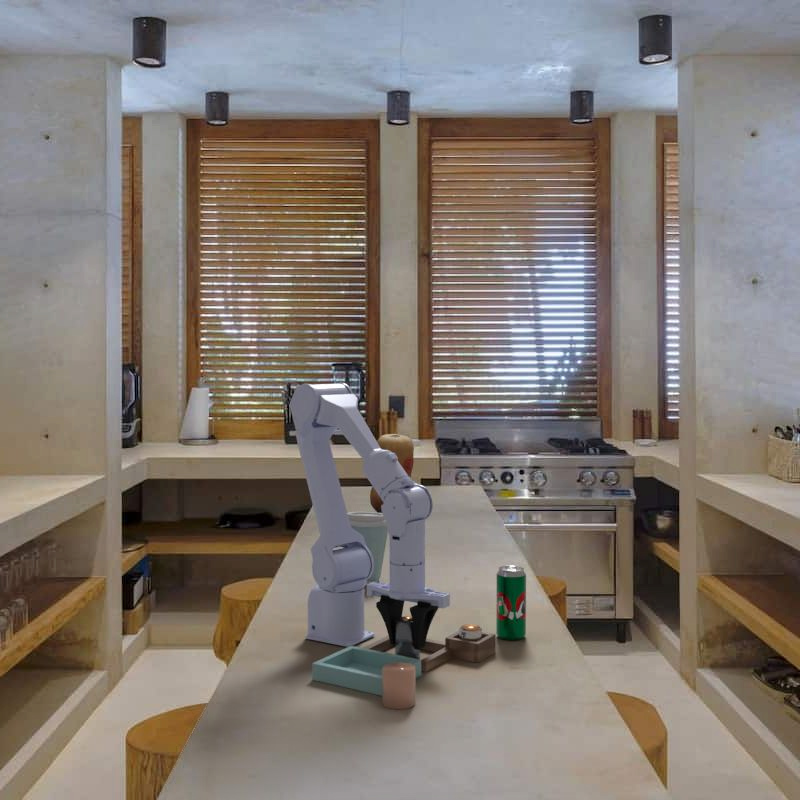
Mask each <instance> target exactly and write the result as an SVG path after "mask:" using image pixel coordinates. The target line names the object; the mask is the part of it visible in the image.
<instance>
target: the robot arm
mask: <svg viewBox="0 0 800 800" xmlns="http://www.w3.org/2000/svg"><path fill="white" fill-rule="evenodd" d="M358 403H359V398H358V397H357V396H356V395H355V394H354V391H353V390H352V388H351V387H350V386H349V385H348V384H347V383H344V382H337V383H314V384H313V383H312V384H311V383H302V384H300V385H298V386H297V387H296V389H294V392H293V394H292V397H291V399H290V402H289V408H290V412H291V415H292V419H293V425H294V428H295V437H296V441H297V442H296V443H297V446H298V450H299V455H300V459H301V463H302V466H303V471H304V476H305V479H306V483H307V487H308V490H309V496H310V499H311V502H312V508H313V512H314V515H315V519H316V523H317V527H318V530H319V531H318V532H319V536H318V538H317V539H316V541H315V542H314V543H313V545H312V546H311V548H310V553H311V559H312V563H311V571H312V576H313V579H314V581H315V583H316V585H314V586H313V587H312V588H311V590H310V592H309V595H308V599H307V634H305V635H304V639H307V640H311V641H317V642H322V643H326V644H332V645H336V646H340V647H345V648H347V647H349V646H355V645H356V644H359V643H361V642H364V641H366V640H368V639H370V638H372V637H374V636H375V632H373V631H367V630H365V626H366V625H365V624H366V623H365V619H366V618H365V586H366V596H367V597H372V598H373V597H377V598H378V597H380V599H379V601H377V602H376V603H375V605H376V608H377V610H378V612H379V614H380V616H381V617H382V620H383V622H384V625H385V627H386V632H387V636H388V635H389V640H390V644H391V645H394V646H395V619H396V618H399V617H403V612H404V611H403V610H404V606H405V602H411V603H415V605H413V606H411V607H409V612H410V616H412V621H413V628H414V648H415V649H416V650H419V649H420V650H422V649H421V648H423V647H425V642H426V639H428V638H427V636H428V634H429V630H430V627H431V624H432V621H433V620H434V618H435V616H436V613H437V612H438V611H439V610H438V609H443V610H444V609H445V608H447V607H450V605H451V603H450V600H451V599H450V598H451V596H450V595H451V594H450V593H447V592H441V591H438V590H437V589H432V588H429V587H426V520H427V519H428V518H429V517H430V516H431V514H432V512H433V506H434V505H433V503H434V501H433V498H432V496H431V494H430V491H429V490H428V488H427V487H426V486H424V485H422V484H418V483H417V482H416V481H415V480H412V477H411V478H410V477H409V476H408V475H407V473H406V472H405V470H404V469H403V468H402V466H401V465H400V463H399V462H398V457H397V456H396V454H395V453H392V452H391V451H389V450H383V449H381V448H380V446H379V445H378V443H377V441H378V440H376V439H377V438H375V436H374V434H373V433H372V431H371V429H370V427H369V426H368V424H367V423H366V420H365V419H364V416H362V414H361V412H360V410H359V409H358V407H359V406H358V405H359V404H358ZM338 430H339V431H340V433H342V435H343V436H344V437H345V439H346V440H347V441H348V443H349V444H350V445H351V446H352V447H353V449H354V450H355V451H356V452H357V453H358V455H359V456H360V457H361V459H362V460H363V461H362V462H363V463H362V472H363V474H364V476H365V477H366V478H367V480H368V481H369V483H370V484H371V487H372V486H373V487H374V489H375V490H376V492H377V493H378V495H379V496H380V498H381V499H382V501H383V502H384V504H383V505H381V509H382V514H383V516H384V518H385V520H386V523H387V531H388V534H387V535H389V583H387V582H372V583H370V584H367V579H368V578H369V577H370V576H371V575H372V573H373V570H374V560H373V556H372V554H371V552H370V550H369V549H368V548H367V546H366V544H365V540H364V537H363V536H362V535H361V534H360V533H358V532H357V531H356V530H354V529H353V528H352V527H351V526H350V522H349V518H348V514H347V513H348V510H347V507H346V503H345V502H346V501H345V498H344V494H343V491H342V486H341V483H340V479H339V475H338V470H337V467H336V462H335V459H334V456H333V451H332V448H331V447H332V446H331V443H330V439H331V438H332V436H333V434H334V433H336V432H337V431H338ZM335 548H339V549H335ZM334 549H335V550H334ZM416 603H417V604H416Z"/></svg>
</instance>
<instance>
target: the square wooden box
mask: <svg viewBox="0 0 800 800" xmlns="http://www.w3.org/2000/svg"><path fill="white" fill-rule="evenodd" d="M496 635H497V634H494V633H490V632H484V631H482V639H481V640H479V641H477V642H474V641H469V640H463V639H459V630H458V631H456V632H454V633H452V634H451V635H448V636H446V637H445V640H444V642H445V647H447V648H452V658H451V659H456V660H457V659H458V660H462V661H463V660H464V661H468V662H471V663H472V662H473V663H477V664H478V663H480V662H482V661H484V660H486V659H487V658H489V657H490V656H493V655H494V654H495V653H496Z"/></svg>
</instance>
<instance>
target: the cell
mask: <svg viewBox="0 0 800 800" xmlns="http://www.w3.org/2000/svg"><path fill="white" fill-rule="evenodd" d="M394 648H395V649H394V654H395V655H400V656H405V657H410V658H415V659H420V657H421V649H419V650H416V649H415V648H414V628H413V621H412V616H411V615H404V616H403V615H402V617H399V618H396V619H395V645H394Z"/></svg>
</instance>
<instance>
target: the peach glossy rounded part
mask: <svg viewBox="0 0 800 800" xmlns="http://www.w3.org/2000/svg"><path fill="white" fill-rule="evenodd" d="M382 689H383V696H382V706H384V707H385V708H387V709H392V710H406V709H409V708H412V707H414V706H415V705H416V679H415V666H414V665H412V664H410V663H404V662H394V663H388V664H386V665H384V666H383V667H382Z"/></svg>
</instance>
